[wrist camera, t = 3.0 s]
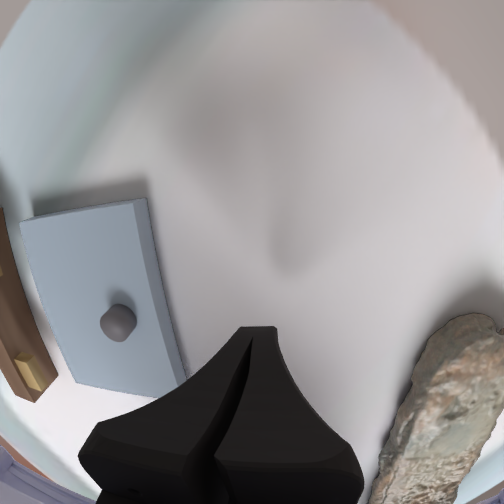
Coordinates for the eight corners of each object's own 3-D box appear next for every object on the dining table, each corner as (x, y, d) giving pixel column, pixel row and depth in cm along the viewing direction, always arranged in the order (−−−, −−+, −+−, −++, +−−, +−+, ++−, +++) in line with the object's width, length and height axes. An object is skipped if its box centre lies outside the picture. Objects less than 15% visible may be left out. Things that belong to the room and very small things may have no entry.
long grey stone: (517, 282, 14) (379, 308, 16) (563, 319, 9) (400, 363, 11) (426, 521, 23) (354, 534, 25) (429, 551, 18) (353, 565, 20)
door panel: (150, 195, 14) (121, 208, 11) (191, 380, 17) (177, 413, 15) (39, 214, 15) (6, 227, 12) (88, 367, 19) (68, 391, 16)
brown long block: (14, 204, 14) (-27, 218, 11) (71, 378, 19) (47, 408, 15) (-15, 212, 15) (-51, 226, 12) (38, 369, 19) (15, 395, 16)
